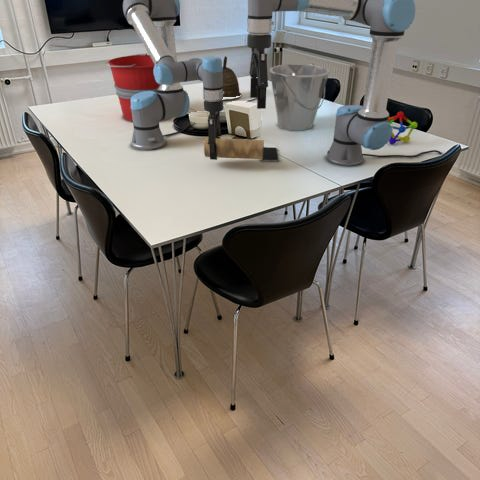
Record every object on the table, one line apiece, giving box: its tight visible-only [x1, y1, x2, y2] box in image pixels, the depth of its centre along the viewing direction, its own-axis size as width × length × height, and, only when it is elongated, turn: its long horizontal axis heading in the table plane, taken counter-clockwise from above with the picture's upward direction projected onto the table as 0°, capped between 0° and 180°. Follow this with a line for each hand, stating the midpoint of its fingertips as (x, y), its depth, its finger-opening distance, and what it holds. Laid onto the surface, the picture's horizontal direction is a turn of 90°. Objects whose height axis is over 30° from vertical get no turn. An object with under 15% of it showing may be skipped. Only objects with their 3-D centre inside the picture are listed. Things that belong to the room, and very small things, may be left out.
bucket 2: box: [269, 63, 330, 131], centre depth 226 cm, size 30×30×28 cm
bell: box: [222, 56, 242, 97], centre depth 278 cm, size 19×26×20 cm
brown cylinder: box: [203, 137, 265, 160], centre depth 182 cm, size 24×8×8 cm, turn 83°
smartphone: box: [260, 146, 279, 162], centre depth 196 cm, size 7×1×15 cm
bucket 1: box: [105, 52, 162, 123], centre depth 239 cm, size 35×35×30 cm
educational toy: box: [388, 110, 418, 145], centre depth 207 cm, size 16×13×15 cm
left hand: (215, 155), depth 184 cm, fingers closed on brown cylinder, 8 cm apart
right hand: (257, 102), depth 149 cm, fingers open, 13 cm apart
